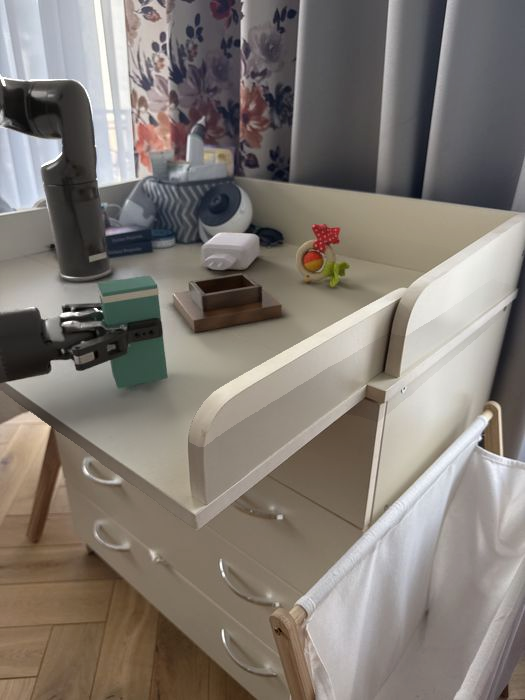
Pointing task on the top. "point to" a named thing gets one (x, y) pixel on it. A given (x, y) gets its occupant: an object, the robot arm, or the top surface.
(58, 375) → the top surface
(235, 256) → the charger
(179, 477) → the top surface
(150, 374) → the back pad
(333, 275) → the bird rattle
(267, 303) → the seat base
